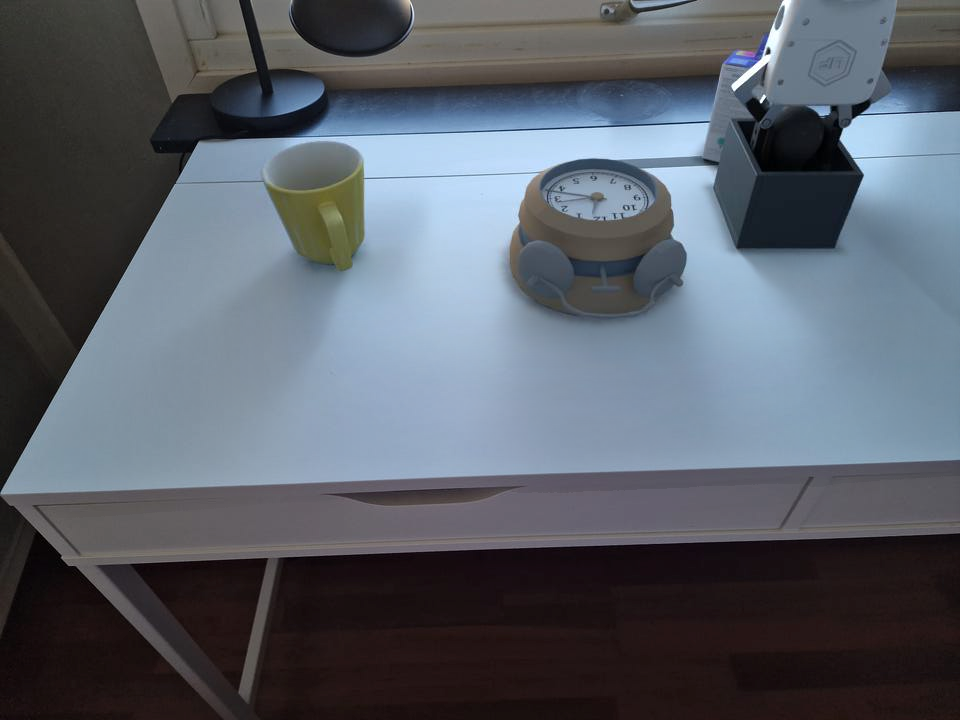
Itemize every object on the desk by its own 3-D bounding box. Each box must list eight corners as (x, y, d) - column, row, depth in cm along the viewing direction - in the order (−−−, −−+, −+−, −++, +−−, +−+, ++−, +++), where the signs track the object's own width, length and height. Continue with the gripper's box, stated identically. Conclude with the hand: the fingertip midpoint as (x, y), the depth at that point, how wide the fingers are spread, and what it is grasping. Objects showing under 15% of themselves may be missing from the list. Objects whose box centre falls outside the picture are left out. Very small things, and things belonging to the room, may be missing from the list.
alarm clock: (671, 143, 72) (721, 280, 56) (658, 218, 79) (699, 360, 62) (509, 145, 73) (511, 282, 57) (509, 219, 79) (510, 361, 63)
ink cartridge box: (790, 159, 87) (828, 40, 77) (779, 178, 84) (816, 58, 74) (713, 141, 91) (739, 26, 81) (700, 159, 88) (725, 42, 78)
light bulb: (751, 205, 76) (770, 118, 69) (754, 179, 80) (772, 94, 73) (807, 210, 74) (831, 122, 67) (807, 183, 78) (830, 97, 71)
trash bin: (800, 187, 83) (824, 117, 76) (834, 248, 74) (864, 174, 68) (712, 187, 83) (729, 118, 77) (735, 248, 74) (756, 175, 68)
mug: (285, 229, 79) (262, 145, 72) (373, 218, 80) (360, 134, 73) (283, 305, 70) (256, 216, 62) (383, 291, 71) (369, 202, 63)
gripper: (758, -15, 58) (714, 177, 71) (968, -19, 57) (885, 175, 70) (738, -41, 64) (700, 142, 76) (930, -45, 63) (859, 140, 76)
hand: (789, 156), depth 73 cm, fingers closed on light bulb, 5 cm apart
